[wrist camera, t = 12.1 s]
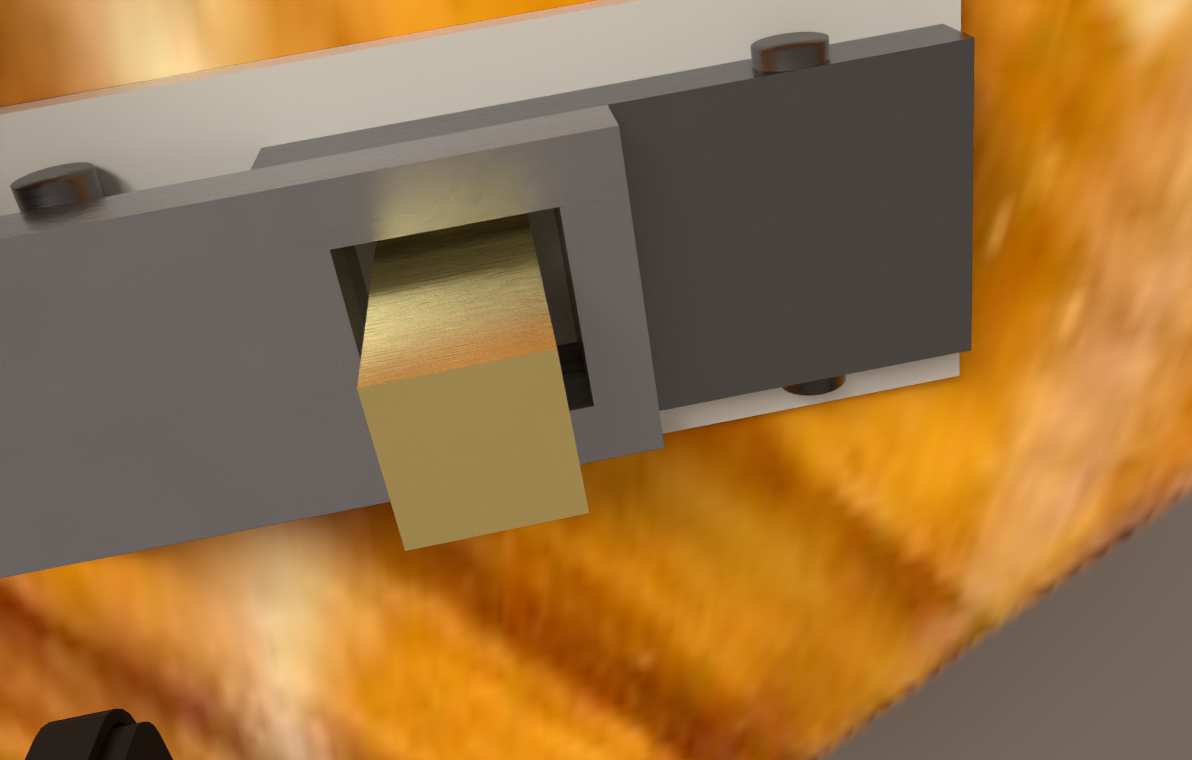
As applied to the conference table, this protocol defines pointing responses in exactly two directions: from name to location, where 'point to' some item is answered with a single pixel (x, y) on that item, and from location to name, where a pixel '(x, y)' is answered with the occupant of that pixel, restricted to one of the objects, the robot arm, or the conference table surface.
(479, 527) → the pin
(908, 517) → the conference table surface
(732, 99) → the gray toy truck
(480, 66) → the board
